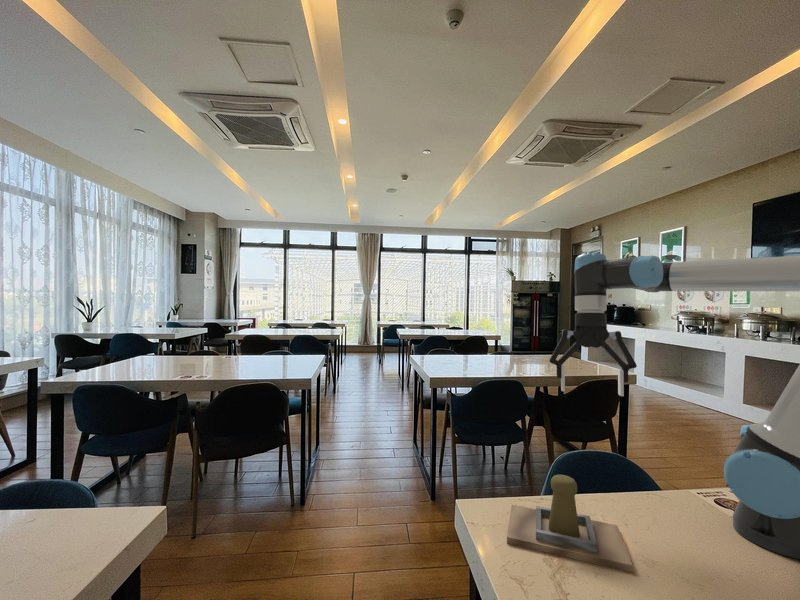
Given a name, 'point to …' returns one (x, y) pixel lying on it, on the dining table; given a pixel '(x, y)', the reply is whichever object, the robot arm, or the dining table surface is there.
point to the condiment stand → (569, 538)
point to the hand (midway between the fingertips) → (591, 392)
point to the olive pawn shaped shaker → (564, 506)
